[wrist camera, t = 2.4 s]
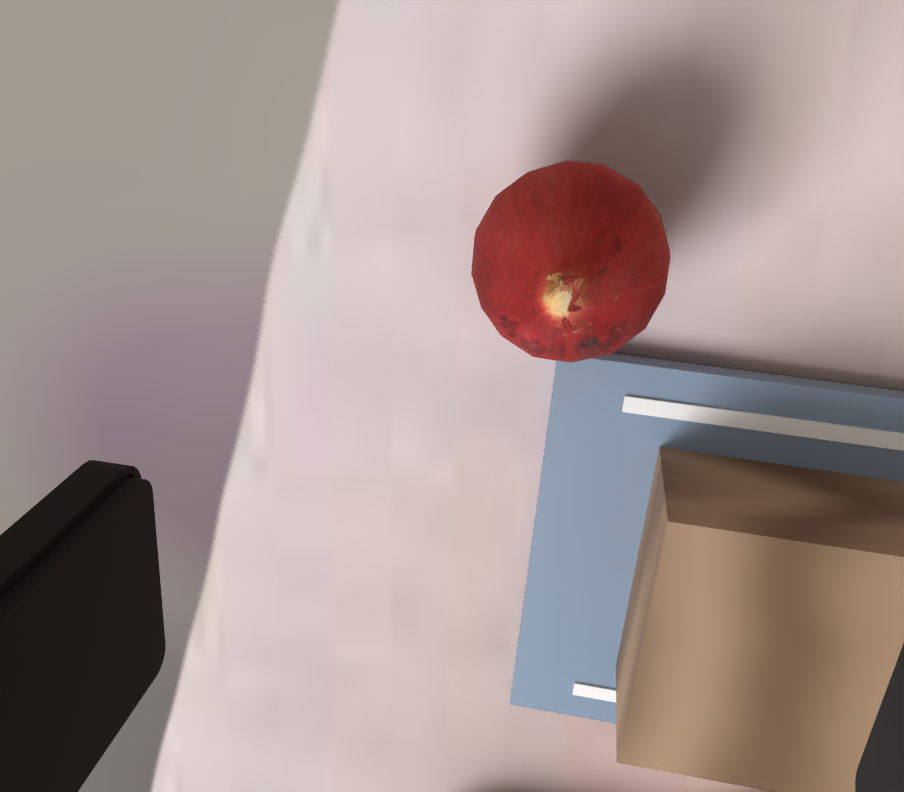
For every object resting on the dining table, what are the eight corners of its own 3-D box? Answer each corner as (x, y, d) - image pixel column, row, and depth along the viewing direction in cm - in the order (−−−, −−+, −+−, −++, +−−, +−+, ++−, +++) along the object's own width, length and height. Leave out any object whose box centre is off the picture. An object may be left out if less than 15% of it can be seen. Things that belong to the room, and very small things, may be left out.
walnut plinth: (954, 488, 29) (1017, 574, 25) (873, 710, 34) (914, 817, 29) (659, 446, 31) (667, 521, 26) (615, 665, 35) (616, 762, 30)
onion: (678, 294, 29) (701, 386, 22) (515, 334, 31) (486, 432, 24) (640, 123, 27) (651, 162, 20) (467, 174, 29) (420, 227, 22)
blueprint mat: (1103, 416, 28) (1117, 428, 28) (950, 769, 35) (958, 787, 34) (558, 346, 31) (557, 355, 30) (511, 690, 37) (509, 706, 36)
